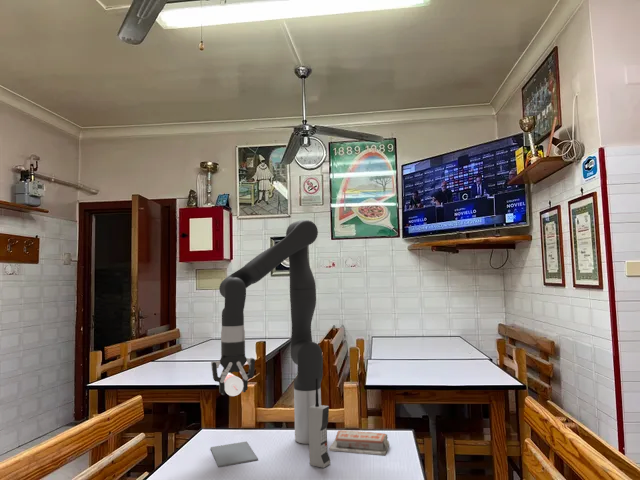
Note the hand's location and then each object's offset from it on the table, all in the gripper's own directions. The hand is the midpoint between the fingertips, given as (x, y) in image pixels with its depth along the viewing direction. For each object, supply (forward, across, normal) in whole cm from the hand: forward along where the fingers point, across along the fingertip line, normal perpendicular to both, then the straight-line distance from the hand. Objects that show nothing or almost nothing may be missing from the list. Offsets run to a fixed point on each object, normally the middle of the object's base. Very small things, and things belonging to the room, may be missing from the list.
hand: (233, 392), depth 144 cm
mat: (+19, 0, +1) cm, 19 cm away
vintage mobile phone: (+19, +22, -18) cm, 35 cm away
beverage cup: (-2, 0, +8) cm, 9 cm away
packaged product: (+20, +38, -11) cm, 45 cm away
